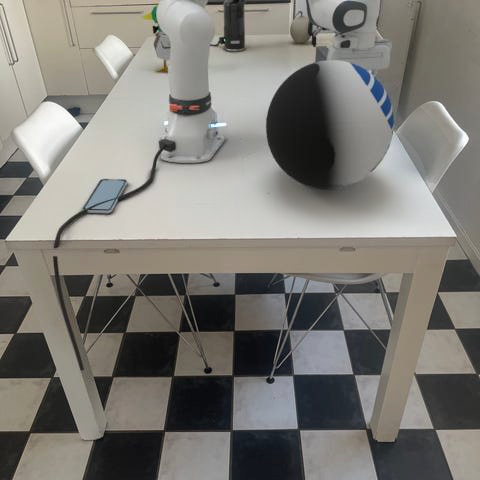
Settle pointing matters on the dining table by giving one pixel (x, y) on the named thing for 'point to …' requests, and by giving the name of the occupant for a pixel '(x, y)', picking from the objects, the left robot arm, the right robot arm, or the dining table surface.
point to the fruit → (300, 29)
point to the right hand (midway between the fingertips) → (324, 46)
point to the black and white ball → (329, 124)
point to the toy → (160, 40)
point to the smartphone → (105, 195)
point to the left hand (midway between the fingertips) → (355, 83)
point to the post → (321, 53)
